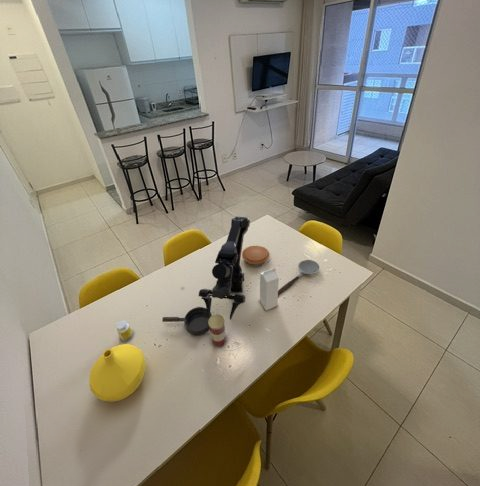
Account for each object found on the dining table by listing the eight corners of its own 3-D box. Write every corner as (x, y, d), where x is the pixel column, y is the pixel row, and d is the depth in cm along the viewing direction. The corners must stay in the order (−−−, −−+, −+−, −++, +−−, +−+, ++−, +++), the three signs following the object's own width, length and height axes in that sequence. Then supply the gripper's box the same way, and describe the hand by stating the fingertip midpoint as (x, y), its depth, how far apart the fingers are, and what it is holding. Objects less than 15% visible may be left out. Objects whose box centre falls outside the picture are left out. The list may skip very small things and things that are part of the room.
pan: (214, 312, 119) (213, 306, 117) (211, 336, 109) (210, 330, 107) (188, 312, 119) (186, 307, 117) (183, 336, 109) (181, 331, 107)
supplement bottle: (135, 332, 112) (129, 321, 107) (128, 342, 108) (121, 330, 103) (126, 329, 113) (120, 318, 108) (118, 339, 110) (112, 327, 105)
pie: (270, 268, 141) (270, 261, 138) (242, 268, 141) (241, 262, 138) (268, 249, 153) (268, 243, 150) (242, 250, 154) (242, 244, 151)
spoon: (323, 270, 137) (323, 266, 135) (280, 306, 121) (280, 302, 119) (306, 261, 144) (306, 257, 143) (264, 294, 128) (264, 289, 127)
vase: (150, 398, 90) (135, 372, 79) (94, 417, 86) (70, 391, 76) (149, 350, 105) (137, 322, 94) (101, 364, 101) (82, 336, 90)
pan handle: (185, 318, 114) (185, 315, 112) (184, 322, 112) (184, 319, 111) (164, 318, 114) (163, 316, 113) (162, 322, 112) (161, 320, 111)
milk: (277, 306, 120) (279, 272, 108) (265, 310, 118) (267, 277, 106) (270, 296, 125) (272, 263, 112) (259, 301, 123) (260, 267, 110)
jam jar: (227, 332, 110) (224, 314, 103) (226, 346, 105) (223, 328, 98) (212, 332, 110) (209, 314, 103) (210, 346, 105) (207, 328, 98)
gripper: (196, 275, 101) (190, 316, 98) (243, 282, 97) (237, 325, 95) (205, 275, 112) (200, 312, 109) (247, 281, 108) (243, 320, 105)
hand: (219, 317), depth 104 cm, fingers open, 9 cm apart
